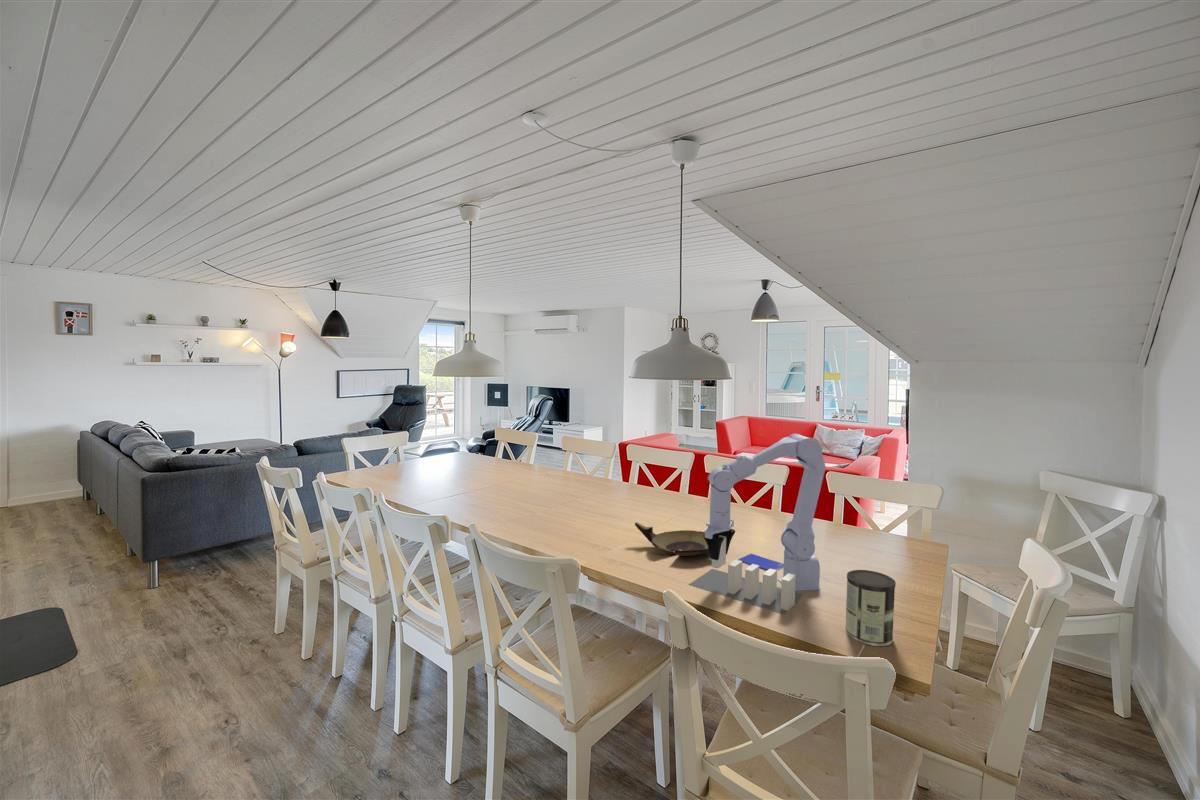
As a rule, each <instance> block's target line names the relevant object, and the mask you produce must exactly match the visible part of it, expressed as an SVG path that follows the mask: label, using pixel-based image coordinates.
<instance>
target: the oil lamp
mask: <svg viewBox="0 0 1200 800" xmlns="http://www.w3.org/2000/svg"><path fill="white" fill-rule="evenodd" d="M634 526H635V527H636V528H637V529H638V530H639V531H640V533H642V535H643V536H644V537H645V538H646V539H647V541H648V542H650V543H651V545H652V546H654V548H656V549H658V550H660V551H662V552H664V553H667V554H670V555H674V556H680V557H692V556H698V555H701V554H705V553H707V552H709V548H708V545H707V543H706V541H705V539H704V534H705V531H701V530H699V531H697V530H687V529H684V530H671V531H664V532H660V533H654V531H653V530H654V527H653V526H645V525H642V524H641V523H639V522H635V523H634Z"/></svg>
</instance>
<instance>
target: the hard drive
mask: <svg viewBox="0 0 1200 800" xmlns="http://www.w3.org/2000/svg"><path fill="white" fill-rule="evenodd" d="M737 560H740V561H742V564H743V563H744V564H746V565H749V566H750V565H752V564H755V565H759V570H760V569H761V570H764V571H765V572H766V571H767V570H769V569H774V570H777V571H778V570H780V569H784V562H783V563H782V562H779V561H777V560H773V559H769V558H766V557H763V556H760V555H757V554H754V553H750V554H746V555H745V556H743V557H740V558H738V559H737Z"/></svg>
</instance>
